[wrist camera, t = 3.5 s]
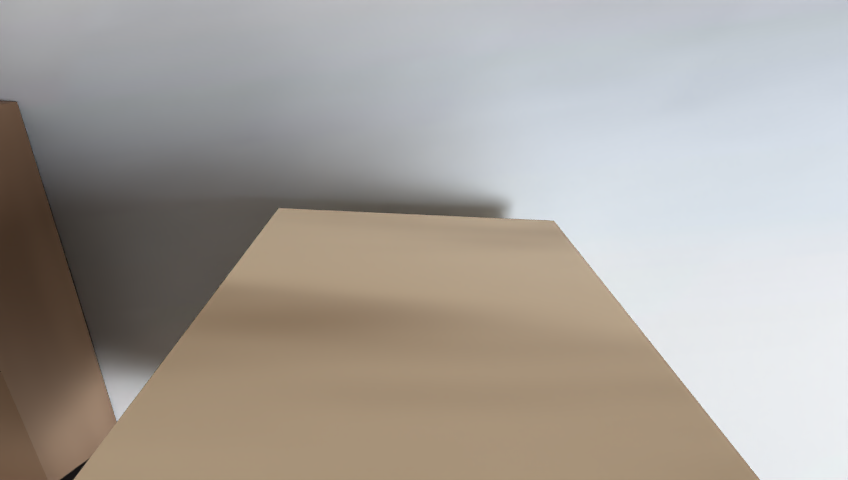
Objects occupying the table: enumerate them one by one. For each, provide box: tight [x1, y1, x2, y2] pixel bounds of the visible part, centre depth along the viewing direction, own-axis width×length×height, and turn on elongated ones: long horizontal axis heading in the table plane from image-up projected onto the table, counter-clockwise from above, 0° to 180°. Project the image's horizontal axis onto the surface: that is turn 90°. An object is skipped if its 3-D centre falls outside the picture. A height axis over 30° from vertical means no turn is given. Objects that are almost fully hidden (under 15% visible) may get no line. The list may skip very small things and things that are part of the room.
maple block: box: [74, 208, 760, 480], centre depth 6 cm, size 5×5×6 cm
